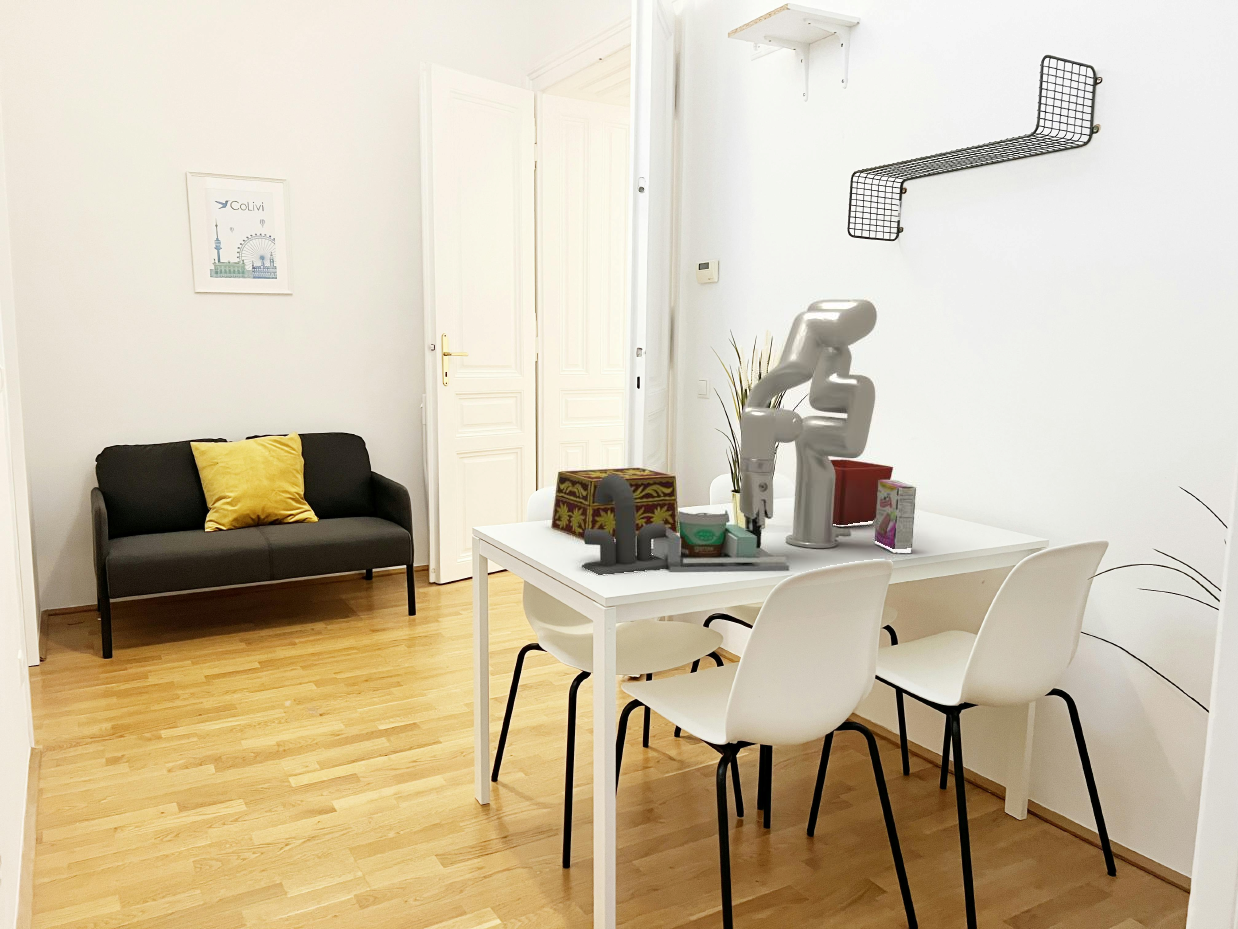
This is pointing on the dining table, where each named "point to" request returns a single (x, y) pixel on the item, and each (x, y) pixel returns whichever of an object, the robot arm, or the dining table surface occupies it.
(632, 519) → the faucet
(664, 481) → the decorative box
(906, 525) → the candy bar box
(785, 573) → the dining table surface
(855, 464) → the plant pot
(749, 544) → the block
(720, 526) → the food container
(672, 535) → the vise bed
